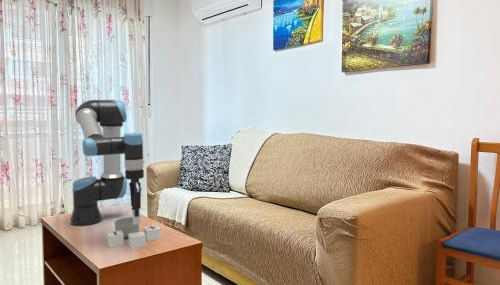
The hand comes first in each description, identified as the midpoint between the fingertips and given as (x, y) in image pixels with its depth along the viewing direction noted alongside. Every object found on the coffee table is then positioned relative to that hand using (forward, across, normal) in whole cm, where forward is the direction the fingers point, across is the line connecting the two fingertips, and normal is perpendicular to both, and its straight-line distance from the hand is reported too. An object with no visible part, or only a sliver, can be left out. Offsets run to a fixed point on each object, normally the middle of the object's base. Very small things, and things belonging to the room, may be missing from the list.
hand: (136, 223), depth 160 cm
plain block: (+10, 0, 0) cm, 10 cm away
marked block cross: (+10, +6, -8) cm, 14 cm away
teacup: (+10, +16, 0) cm, 19 cm away
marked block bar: (+10, +6, +8) cm, 14 cm away
